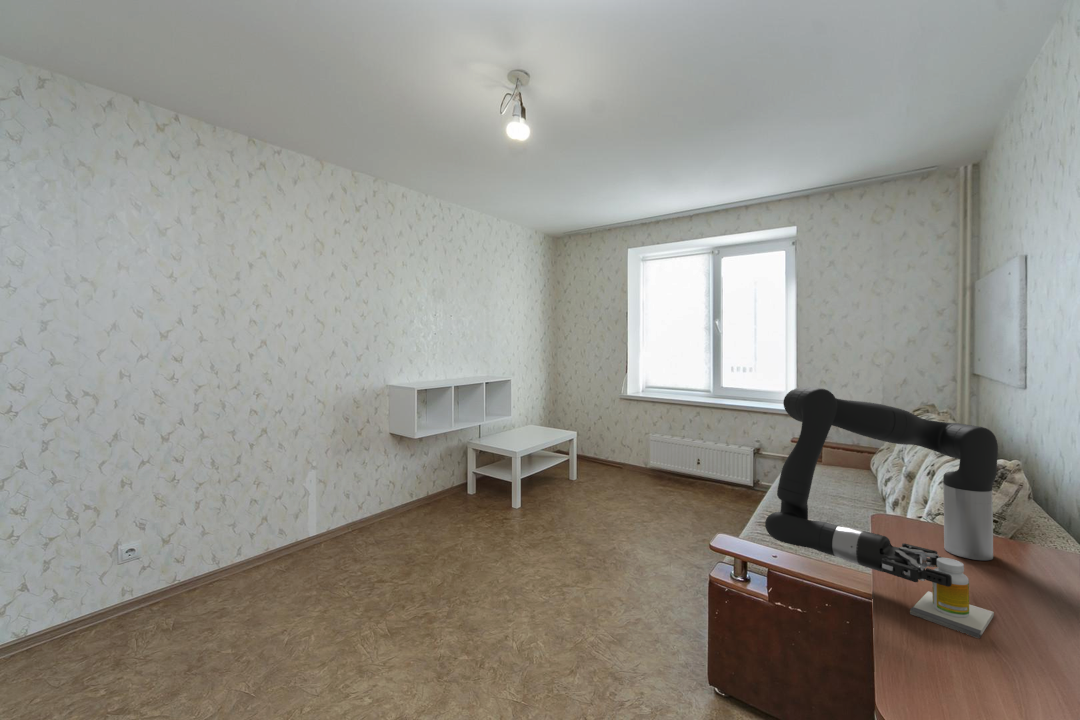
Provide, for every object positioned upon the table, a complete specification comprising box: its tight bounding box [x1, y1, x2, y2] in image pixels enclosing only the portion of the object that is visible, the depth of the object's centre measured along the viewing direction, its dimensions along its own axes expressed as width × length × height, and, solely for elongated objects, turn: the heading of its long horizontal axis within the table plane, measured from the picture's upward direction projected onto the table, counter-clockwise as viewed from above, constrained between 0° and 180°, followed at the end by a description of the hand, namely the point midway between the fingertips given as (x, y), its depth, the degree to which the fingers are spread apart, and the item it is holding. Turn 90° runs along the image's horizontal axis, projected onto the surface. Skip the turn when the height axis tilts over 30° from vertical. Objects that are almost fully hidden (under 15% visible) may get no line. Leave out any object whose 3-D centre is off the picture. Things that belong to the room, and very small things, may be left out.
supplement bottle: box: [931, 557, 970, 617], centre depth 89 cm, size 5×5×10 cm
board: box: [909, 590, 995, 639], centre depth 89 cm, size 12×10×1 cm
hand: (957, 574), depth 89 cm, fingers open, 8 cm apart
